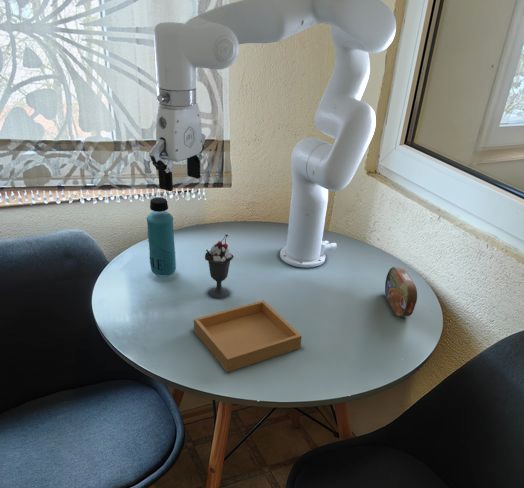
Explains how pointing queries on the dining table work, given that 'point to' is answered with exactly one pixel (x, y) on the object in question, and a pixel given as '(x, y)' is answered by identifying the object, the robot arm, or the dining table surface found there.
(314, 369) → the dining table surface
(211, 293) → the sundae
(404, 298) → the tin
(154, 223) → the beverage bottle
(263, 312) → the tray
